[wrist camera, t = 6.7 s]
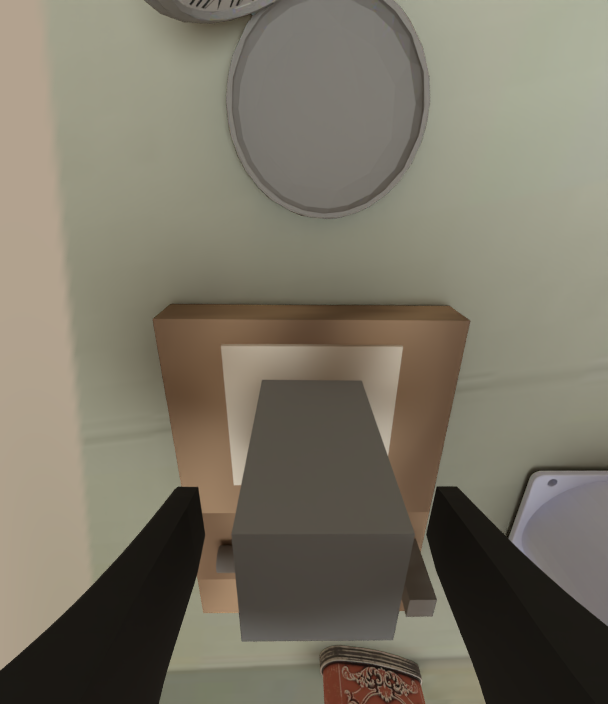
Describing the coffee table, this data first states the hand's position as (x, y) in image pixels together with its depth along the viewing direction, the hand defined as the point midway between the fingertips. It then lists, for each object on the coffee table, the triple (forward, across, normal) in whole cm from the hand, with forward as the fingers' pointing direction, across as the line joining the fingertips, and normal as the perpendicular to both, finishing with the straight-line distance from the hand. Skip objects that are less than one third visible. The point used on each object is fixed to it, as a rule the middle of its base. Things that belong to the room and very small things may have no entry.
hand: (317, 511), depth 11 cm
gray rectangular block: (+5, 0, 0) cm, 5 cm away
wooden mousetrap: (+7, 0, +4) cm, 8 cm away
